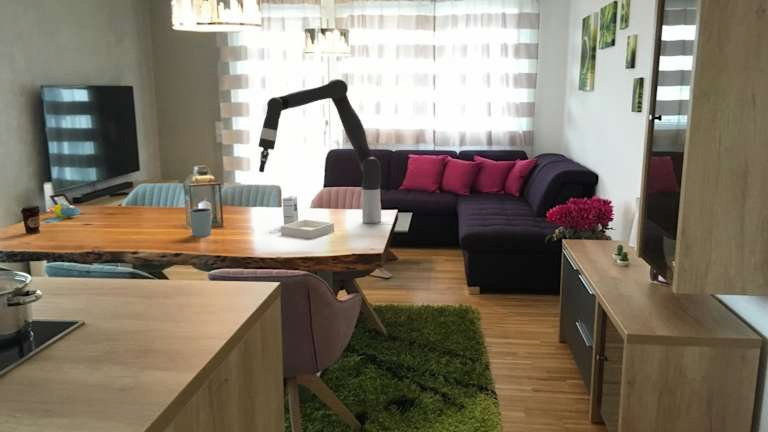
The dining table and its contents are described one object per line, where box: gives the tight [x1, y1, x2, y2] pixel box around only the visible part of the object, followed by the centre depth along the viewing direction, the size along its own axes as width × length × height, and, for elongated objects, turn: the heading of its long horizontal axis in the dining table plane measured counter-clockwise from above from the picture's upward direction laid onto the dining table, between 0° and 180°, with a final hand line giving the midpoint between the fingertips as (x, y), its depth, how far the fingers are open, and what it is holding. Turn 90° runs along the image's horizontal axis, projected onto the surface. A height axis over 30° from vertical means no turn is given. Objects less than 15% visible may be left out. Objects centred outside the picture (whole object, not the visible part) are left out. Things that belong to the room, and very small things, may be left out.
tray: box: [280, 218, 335, 239], centre depth 309 cm, size 18×18×4 cm
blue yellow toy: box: [41, 202, 83, 224], centre depth 352 cm, size 28×9×15 cm
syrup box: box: [282, 195, 299, 225], centre depth 324 cm, size 6×6×14 cm
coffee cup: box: [20, 205, 41, 235], centre depth 314 cm, size 9×8×13 cm
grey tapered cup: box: [188, 207, 212, 238], centre depth 306 cm, size 10×10×12 cm
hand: (261, 171), depth 311 cm, fingers open, 8 cm apart
